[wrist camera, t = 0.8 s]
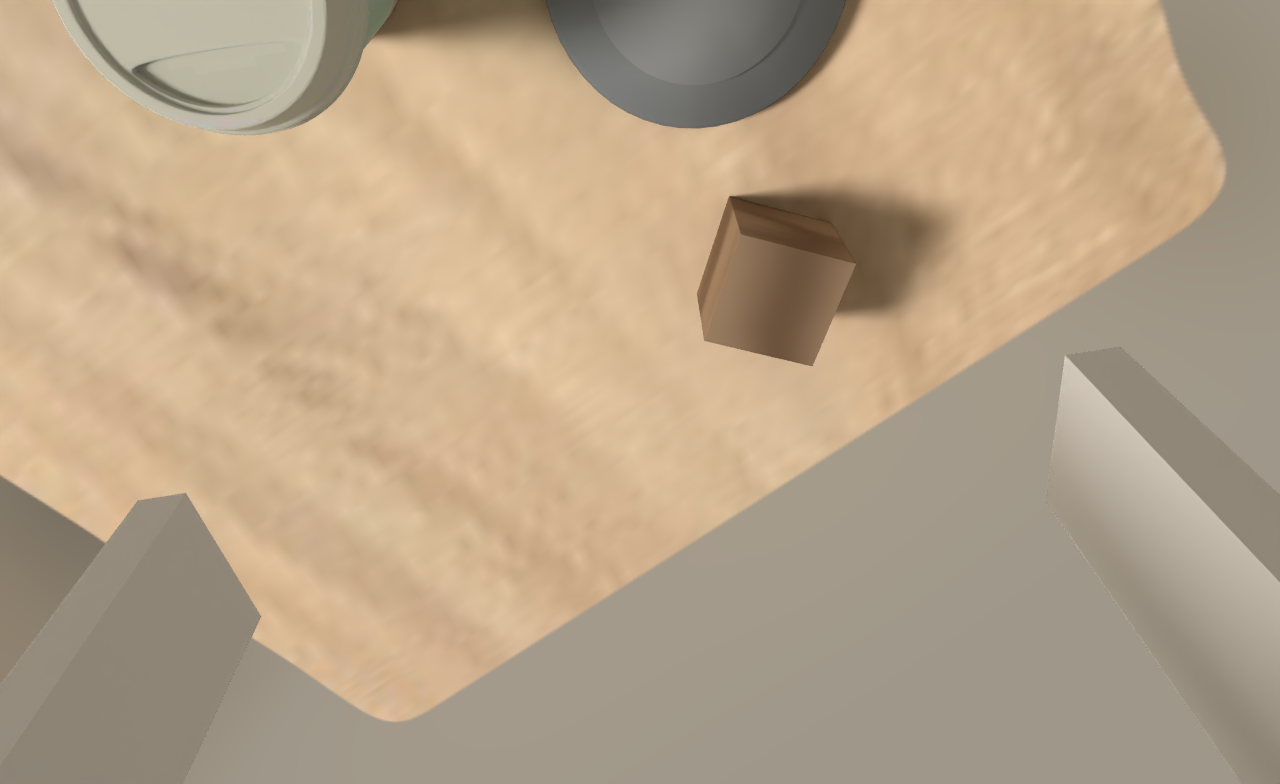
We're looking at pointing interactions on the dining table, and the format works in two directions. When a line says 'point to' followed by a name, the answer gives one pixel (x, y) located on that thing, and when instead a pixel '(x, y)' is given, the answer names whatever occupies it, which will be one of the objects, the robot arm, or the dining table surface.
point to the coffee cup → (227, 55)
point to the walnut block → (772, 282)
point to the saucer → (694, 53)
